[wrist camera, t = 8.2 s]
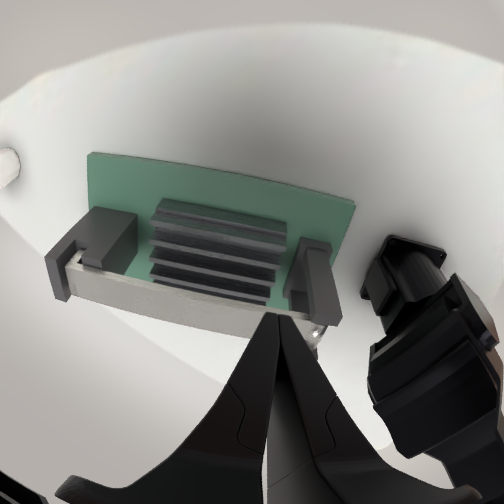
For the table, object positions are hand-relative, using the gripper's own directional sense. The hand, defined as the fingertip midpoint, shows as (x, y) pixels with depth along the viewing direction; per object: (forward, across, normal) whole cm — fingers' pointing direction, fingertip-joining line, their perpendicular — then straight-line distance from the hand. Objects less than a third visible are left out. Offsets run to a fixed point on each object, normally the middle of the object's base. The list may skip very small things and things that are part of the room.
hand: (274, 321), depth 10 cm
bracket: (+13, -4, +6) cm, 15 cm away
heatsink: (+13, +3, +6) cm, 15 cm away
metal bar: (+7, +4, +6) cm, 10 cm away
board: (+13, +4, +6) cm, 15 cm away
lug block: (+13, +12, +6) cm, 18 cm away
